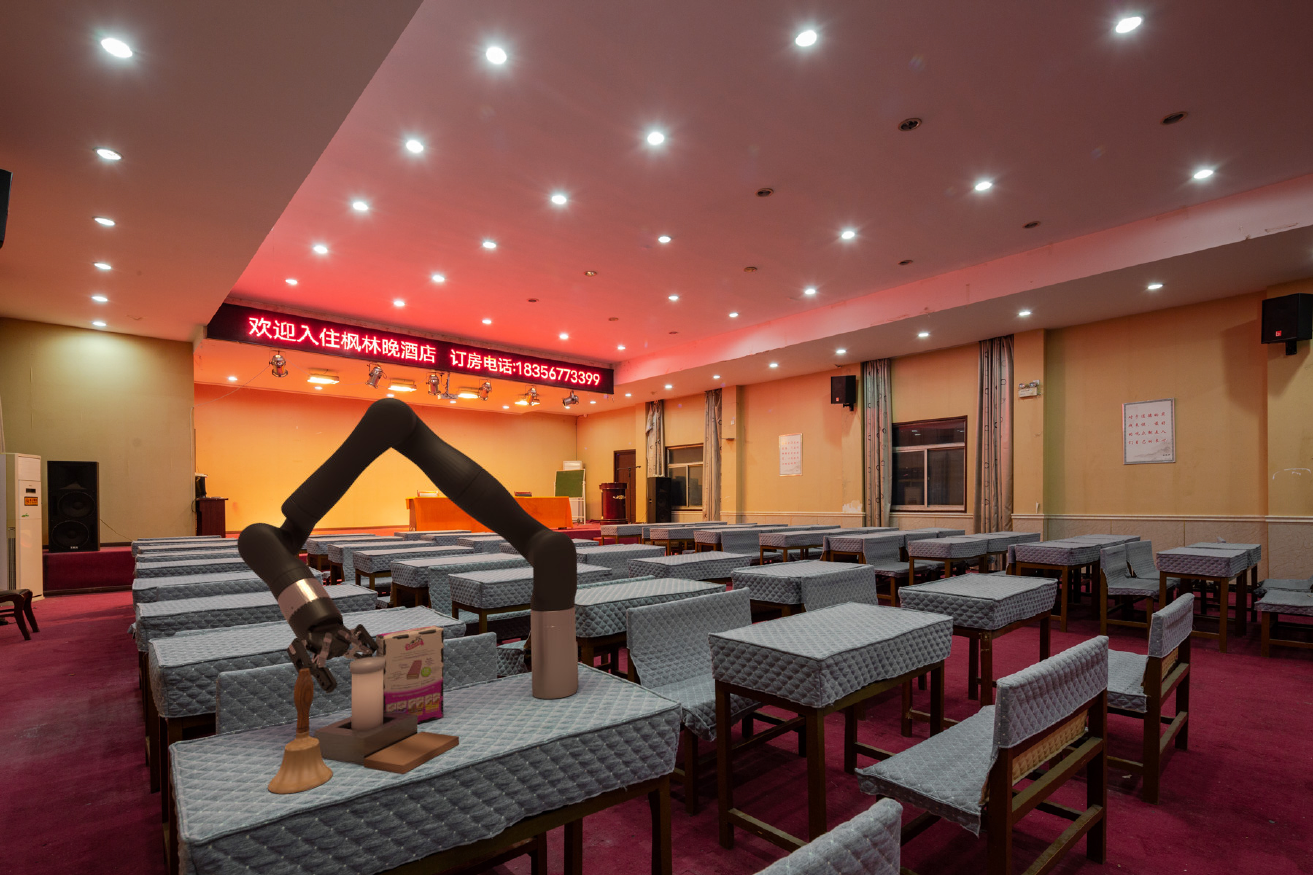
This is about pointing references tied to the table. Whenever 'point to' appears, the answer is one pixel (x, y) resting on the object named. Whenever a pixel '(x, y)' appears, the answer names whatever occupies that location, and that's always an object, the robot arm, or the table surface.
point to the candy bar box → (413, 671)
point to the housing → (364, 737)
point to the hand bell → (301, 748)
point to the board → (411, 752)
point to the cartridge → (367, 693)
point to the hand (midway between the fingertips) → (355, 682)
